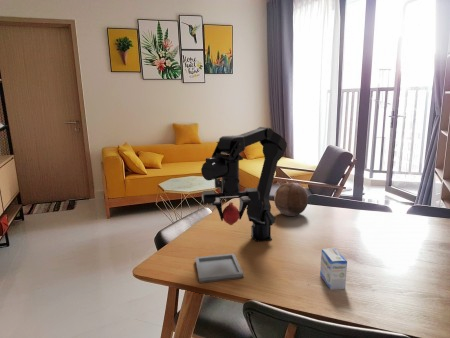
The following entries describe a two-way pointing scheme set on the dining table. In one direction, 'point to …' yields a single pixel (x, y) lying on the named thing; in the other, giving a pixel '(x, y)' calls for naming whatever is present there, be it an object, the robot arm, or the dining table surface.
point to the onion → (230, 214)
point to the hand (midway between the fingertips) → (230, 219)
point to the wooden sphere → (291, 199)
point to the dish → (218, 268)
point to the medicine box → (333, 268)
